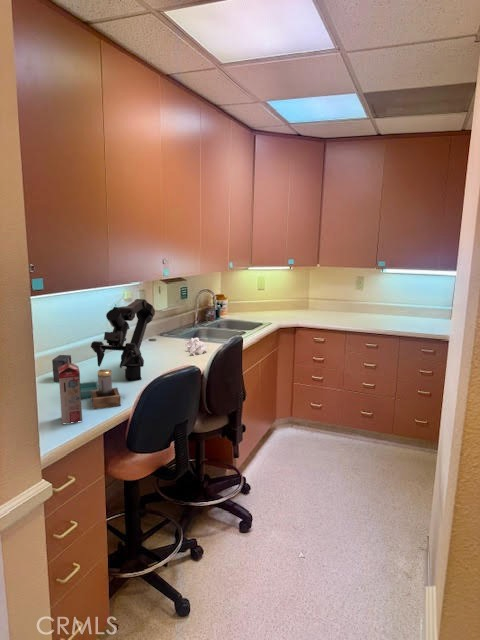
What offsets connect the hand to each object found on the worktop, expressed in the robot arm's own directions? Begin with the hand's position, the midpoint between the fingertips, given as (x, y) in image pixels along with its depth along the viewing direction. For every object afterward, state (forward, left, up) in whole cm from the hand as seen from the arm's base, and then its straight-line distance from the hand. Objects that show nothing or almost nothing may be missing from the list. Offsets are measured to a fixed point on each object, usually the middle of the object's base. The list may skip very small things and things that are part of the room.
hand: (109, 366), depth 173 cm
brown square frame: (+2, +5, -13) cm, 14 cm away
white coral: (-53, -54, -13) cm, 77 cm away
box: (+17, -30, -13) cm, 37 cm away
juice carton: (+15, +17, -13) cm, 27 cm away
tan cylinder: (+2, +5, -13) cm, 14 cm away
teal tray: (+9, -8, -13) cm, 18 cm away
